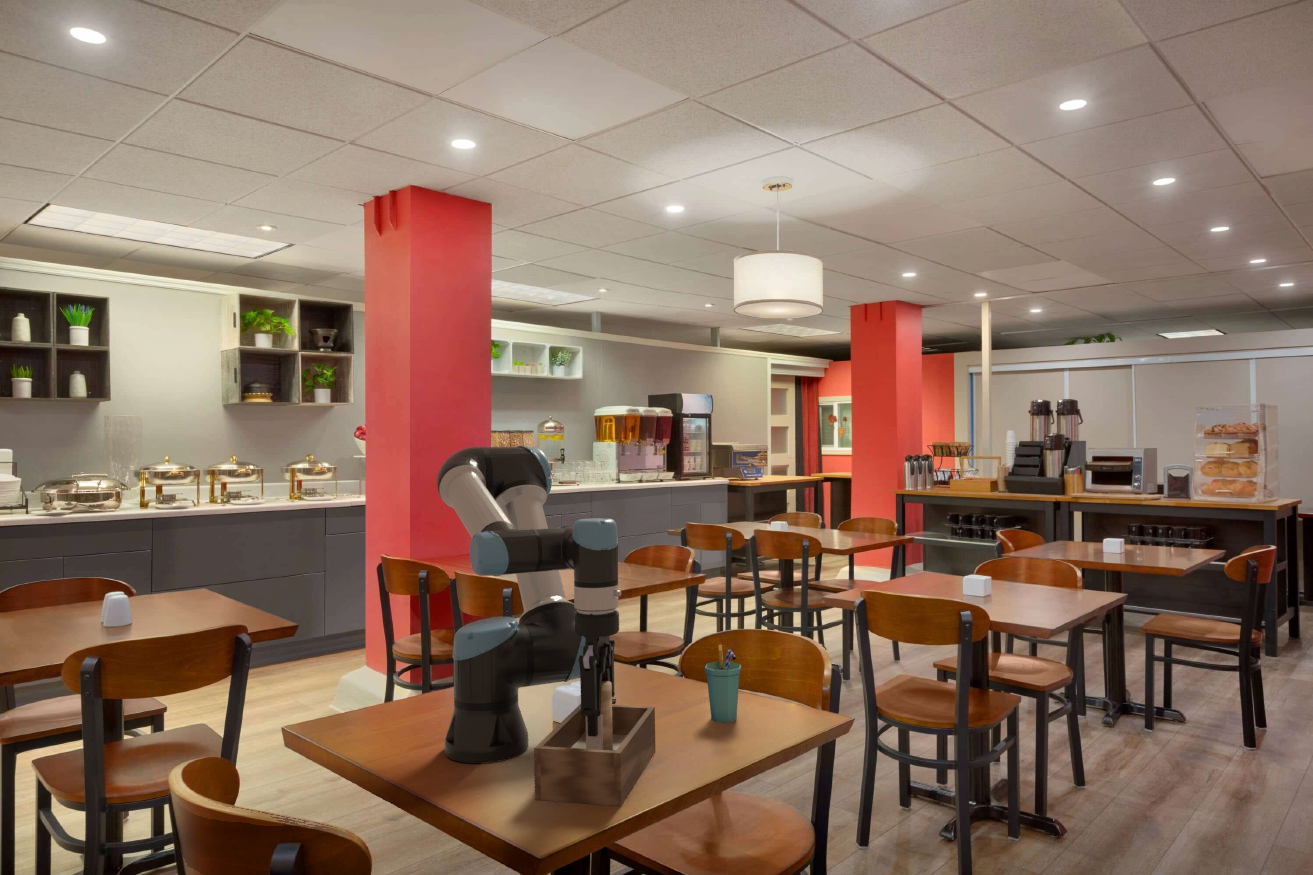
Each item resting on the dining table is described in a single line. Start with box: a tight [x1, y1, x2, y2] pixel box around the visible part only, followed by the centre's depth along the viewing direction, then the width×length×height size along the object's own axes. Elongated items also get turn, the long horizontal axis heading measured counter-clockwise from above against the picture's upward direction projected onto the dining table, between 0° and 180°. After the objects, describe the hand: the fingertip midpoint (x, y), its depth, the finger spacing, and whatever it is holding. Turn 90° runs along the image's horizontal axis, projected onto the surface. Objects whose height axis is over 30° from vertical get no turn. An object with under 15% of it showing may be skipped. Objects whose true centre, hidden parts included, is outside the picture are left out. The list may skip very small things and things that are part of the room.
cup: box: [704, 644, 742, 724], centre depth 167 cm, size 14×8×15 cm, turn 12°
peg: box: [601, 681, 613, 750], centre depth 140 cm, size 4×4×14 cm
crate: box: [533, 703, 657, 807], centre depth 140 cm, size 14×24×8 cm, turn 167°
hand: (599, 748), depth 140 cm, fingers closed on peg, 4 cm apart
